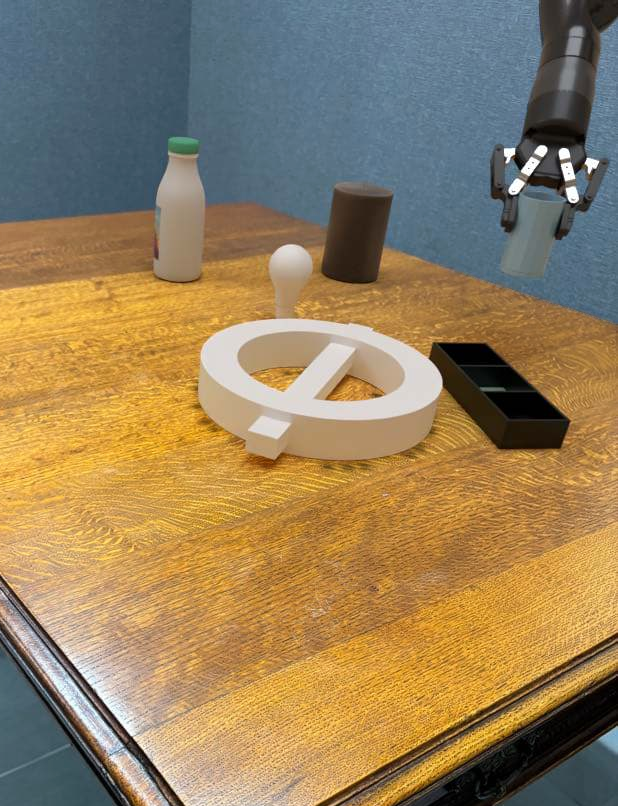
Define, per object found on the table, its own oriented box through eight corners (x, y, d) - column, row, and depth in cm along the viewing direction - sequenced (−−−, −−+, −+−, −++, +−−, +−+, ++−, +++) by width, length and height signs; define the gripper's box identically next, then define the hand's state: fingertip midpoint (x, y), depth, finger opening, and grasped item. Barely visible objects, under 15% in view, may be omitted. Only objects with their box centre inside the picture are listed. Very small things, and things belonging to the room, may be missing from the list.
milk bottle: (209, 275, 132) (220, 140, 120) (183, 286, 127) (191, 146, 115) (171, 264, 135) (177, 132, 124) (143, 275, 130) (147, 137, 118)
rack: (479, 367, 110) (486, 342, 107) (560, 448, 92) (571, 420, 90) (426, 366, 108) (432, 341, 106) (498, 449, 91) (508, 421, 89)
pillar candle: (350, 286, 133) (367, 189, 124) (309, 269, 139) (322, 175, 130) (389, 278, 138) (408, 184, 129) (348, 261, 144) (363, 171, 135)
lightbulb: (292, 334, 114) (303, 254, 108) (254, 323, 116) (263, 244, 110) (311, 322, 118) (323, 245, 112) (274, 311, 121) (284, 235, 114)
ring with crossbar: (360, 346, 112) (367, 313, 109) (480, 444, 91) (492, 406, 88) (167, 361, 103) (169, 325, 100) (251, 474, 82) (256, 432, 79)
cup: (530, 265, 105) (552, 191, 100) (550, 279, 101) (574, 202, 96) (491, 263, 104) (512, 189, 99) (510, 277, 100) (532, 201, 95)
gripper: (506, 80, 98) (479, 206, 96) (631, 94, 96) (606, 224, 93) (493, 123, 105) (468, 240, 103) (609, 137, 103) (586, 258, 100)
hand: (534, 232), depth 98 cm, fingers closed on cup, 5 cm apart
